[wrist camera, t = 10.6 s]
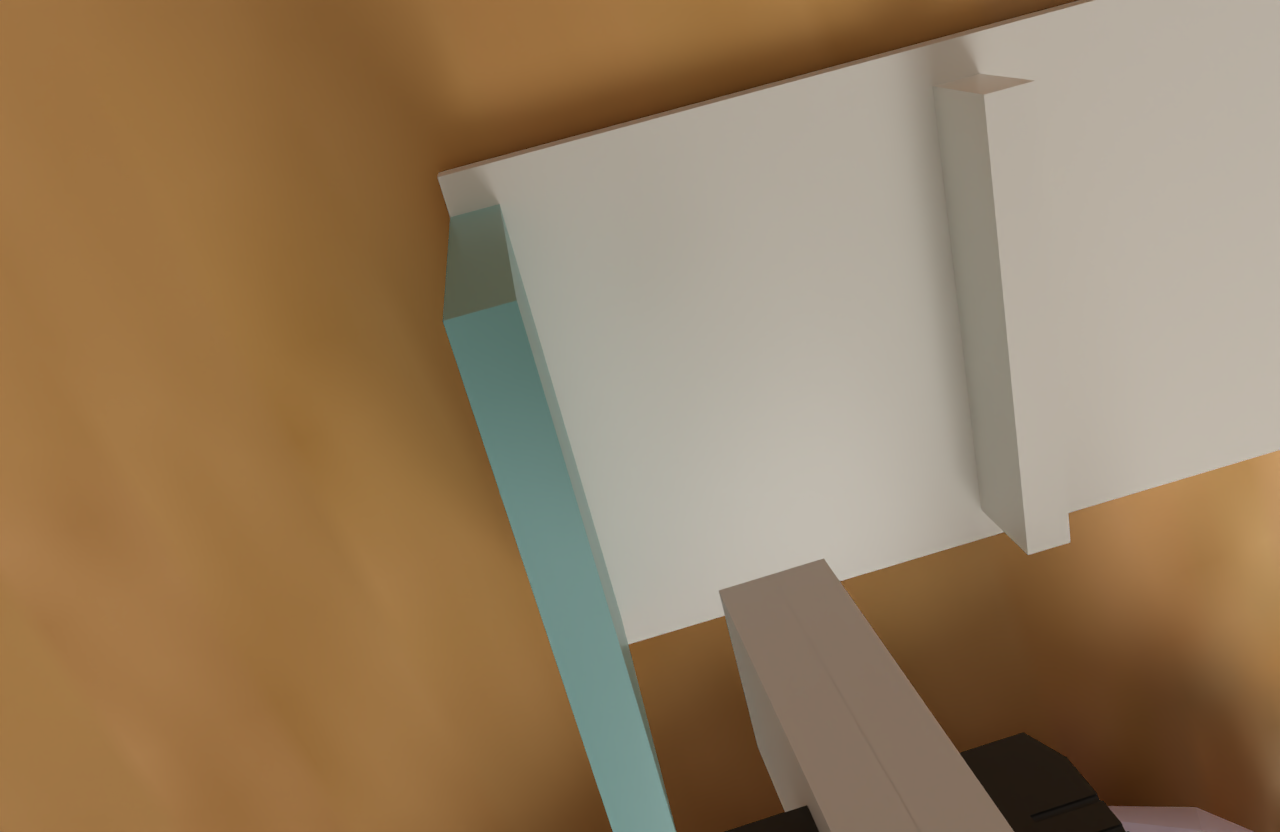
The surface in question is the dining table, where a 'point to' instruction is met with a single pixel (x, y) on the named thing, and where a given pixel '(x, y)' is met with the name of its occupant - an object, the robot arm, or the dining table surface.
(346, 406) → the dining table surface
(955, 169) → the narrow white tray
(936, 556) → the dining table surface
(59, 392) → the dining table surface
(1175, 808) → the fruit bowl
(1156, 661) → the dining table surface
